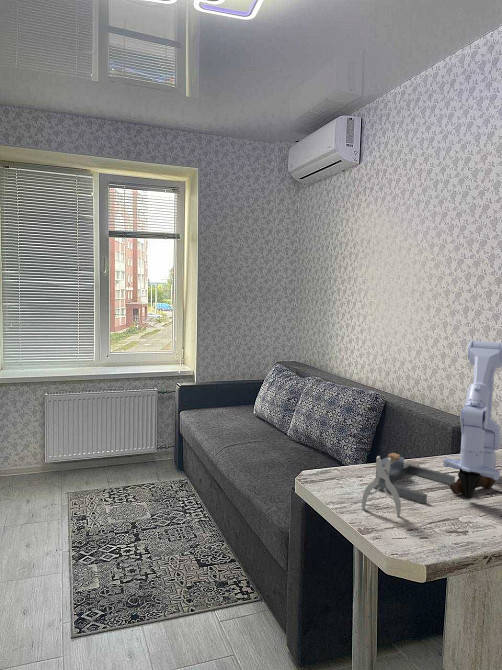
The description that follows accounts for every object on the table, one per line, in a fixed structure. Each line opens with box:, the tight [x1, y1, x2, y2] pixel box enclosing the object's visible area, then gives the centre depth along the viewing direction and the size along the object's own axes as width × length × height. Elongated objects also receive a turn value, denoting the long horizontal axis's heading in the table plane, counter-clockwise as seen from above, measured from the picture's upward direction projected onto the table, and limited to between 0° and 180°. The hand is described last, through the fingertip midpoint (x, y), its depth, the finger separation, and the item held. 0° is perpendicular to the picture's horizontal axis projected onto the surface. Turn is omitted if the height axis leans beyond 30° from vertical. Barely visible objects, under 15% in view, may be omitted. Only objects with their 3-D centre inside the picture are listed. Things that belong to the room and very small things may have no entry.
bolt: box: [449, 476, 496, 495], centre depth 150 cm, size 6×5×15 cm
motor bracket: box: [373, 452, 456, 505], centre depth 153 cm, size 21×18×7 cm
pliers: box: [361, 455, 402, 518], centre depth 133 cm, size 10×2×15 cm, turn 64°
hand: (468, 497), depth 142 cm, fingers closed
